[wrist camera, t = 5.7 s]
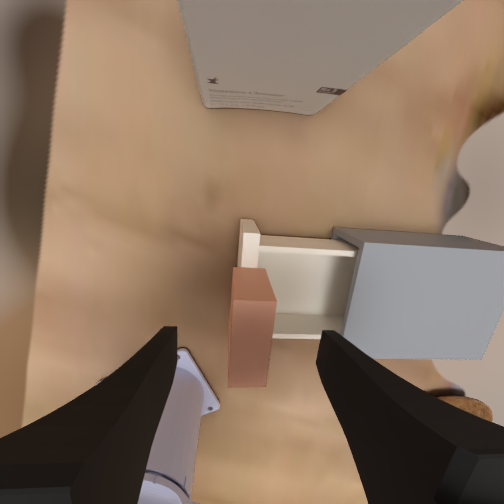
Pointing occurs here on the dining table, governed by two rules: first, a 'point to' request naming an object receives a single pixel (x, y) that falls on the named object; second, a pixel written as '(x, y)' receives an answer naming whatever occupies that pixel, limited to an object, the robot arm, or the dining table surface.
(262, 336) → the white pull-out drawer
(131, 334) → the dining table surface
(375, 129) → the dining table surface
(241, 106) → the skincare box
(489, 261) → the carton
